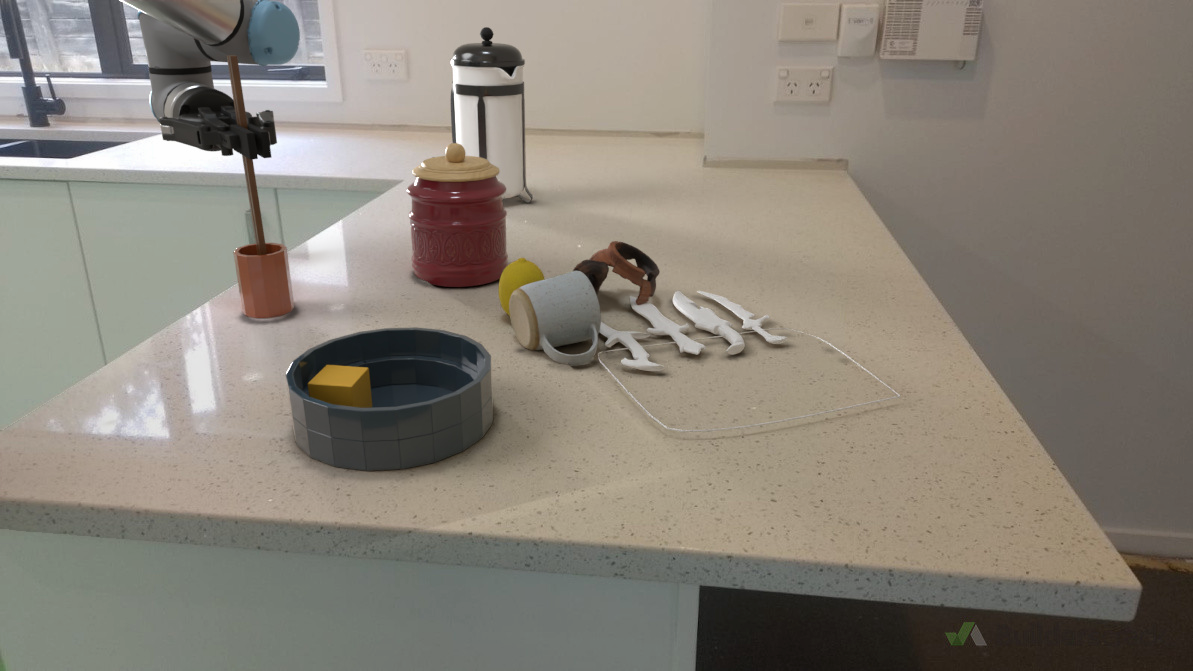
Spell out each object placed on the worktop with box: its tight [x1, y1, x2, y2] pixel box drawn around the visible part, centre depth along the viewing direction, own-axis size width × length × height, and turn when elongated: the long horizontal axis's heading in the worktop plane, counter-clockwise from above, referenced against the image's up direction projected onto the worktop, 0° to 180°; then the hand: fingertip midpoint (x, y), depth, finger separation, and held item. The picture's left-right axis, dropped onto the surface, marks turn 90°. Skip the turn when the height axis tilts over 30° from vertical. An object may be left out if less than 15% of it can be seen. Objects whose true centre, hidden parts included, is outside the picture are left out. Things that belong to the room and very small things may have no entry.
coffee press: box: [449, 26, 534, 204], centre depth 149 cm, size 17×16×30 cm
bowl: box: [285, 326, 494, 472], centre depth 74 cm, size 17×17×6 cm
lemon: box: [497, 257, 546, 317], centre depth 97 cm, size 6×6×8 cm
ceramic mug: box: [509, 270, 602, 366], centre depth 90 cm, size 11×8×8 cm
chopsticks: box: [226, 55, 267, 255], centre depth 93 cm, size 1×2×22 cm, turn 36°
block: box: [308, 365, 372, 408], centre depth 75 cm, size 4×4×4 cm
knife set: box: [597, 290, 901, 433], centre depth 91 cm, size 26×35×1 cm
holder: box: [232, 242, 295, 319], centre depth 98 cm, size 6×6×8 cm
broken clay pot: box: [572, 240, 661, 305], centre depth 104 cm, size 12×10×8 cm
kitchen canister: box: [406, 142, 509, 288], centre depth 112 cm, size 13×13×18 cm
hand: (259, 145), depth 88 cm, fingers closed on chopsticks, 1 cm apart
